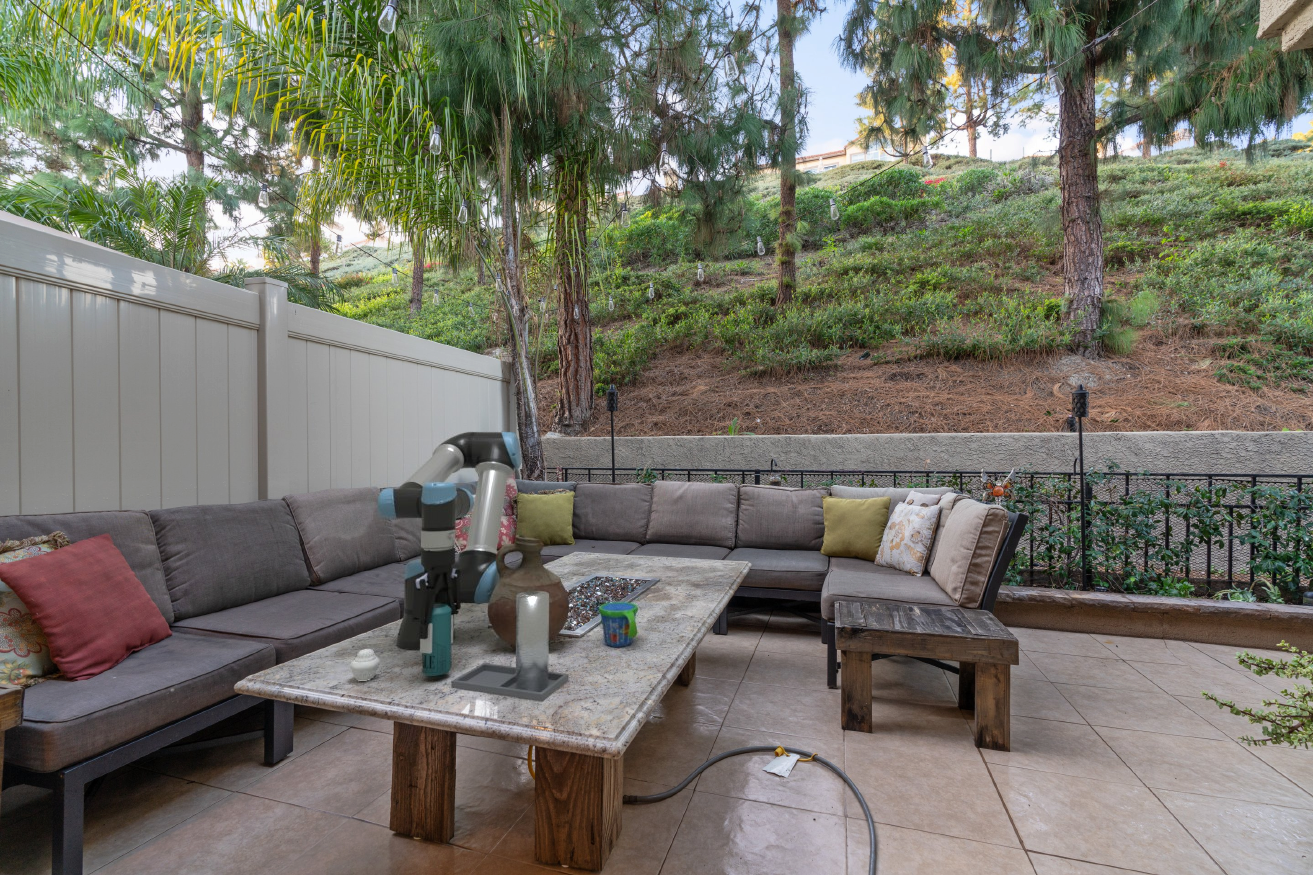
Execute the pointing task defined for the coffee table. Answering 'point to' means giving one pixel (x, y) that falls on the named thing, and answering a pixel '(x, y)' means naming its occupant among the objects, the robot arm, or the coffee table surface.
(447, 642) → the beverage bottle
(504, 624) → the jug
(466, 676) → the tray
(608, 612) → the snack cup
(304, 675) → the coffee table surface
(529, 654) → the canister
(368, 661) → the white lidded jar
